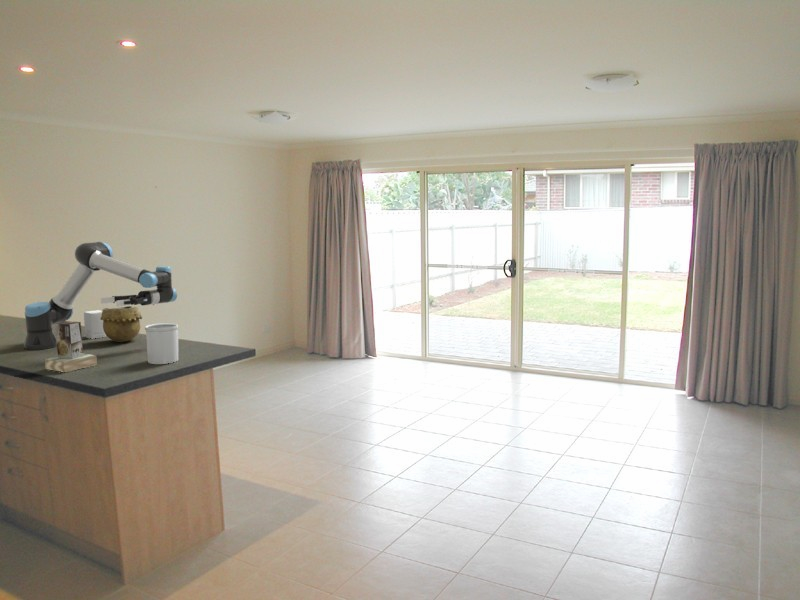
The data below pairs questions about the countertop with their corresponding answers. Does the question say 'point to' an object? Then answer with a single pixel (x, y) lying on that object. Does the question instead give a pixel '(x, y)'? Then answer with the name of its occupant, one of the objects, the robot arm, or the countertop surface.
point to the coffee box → (69, 339)
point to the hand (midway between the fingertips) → (109, 302)
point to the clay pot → (121, 323)
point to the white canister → (93, 324)
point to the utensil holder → (162, 343)
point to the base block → (70, 363)
